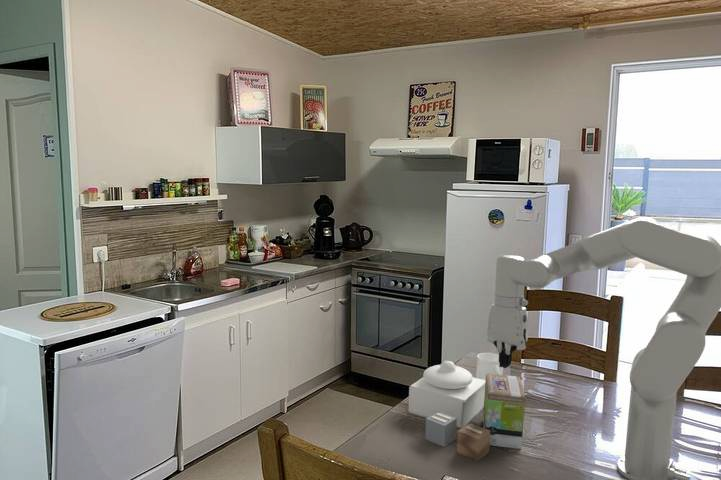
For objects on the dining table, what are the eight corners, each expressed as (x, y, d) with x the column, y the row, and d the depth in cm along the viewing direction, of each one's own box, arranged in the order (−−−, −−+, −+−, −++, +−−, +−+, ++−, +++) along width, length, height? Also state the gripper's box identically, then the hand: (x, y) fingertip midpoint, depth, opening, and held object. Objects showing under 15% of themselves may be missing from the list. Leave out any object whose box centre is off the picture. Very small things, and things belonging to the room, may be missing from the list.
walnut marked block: (489, 452, 137) (490, 429, 137) (477, 461, 133) (478, 437, 132) (468, 444, 141) (469, 422, 141) (457, 452, 137) (458, 430, 136)
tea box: (523, 450, 139) (526, 396, 137) (483, 445, 141) (486, 392, 139) (517, 423, 153) (520, 375, 151) (482, 420, 155) (484, 372, 153)
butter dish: (434, 393, 174) (435, 346, 172) (486, 407, 164) (488, 358, 162) (408, 412, 159) (409, 362, 157) (463, 429, 149) (466, 376, 147)
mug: (486, 397, 171) (488, 365, 169) (471, 383, 182) (473, 353, 181) (511, 395, 172) (512, 364, 171) (494, 381, 184) (496, 352, 183)
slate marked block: (456, 438, 144) (456, 417, 143) (444, 447, 140) (444, 424, 139) (437, 431, 148) (438, 410, 147) (425, 439, 144) (426, 417, 143)
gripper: (541, 303, 140) (536, 369, 142) (490, 294, 150) (486, 356, 152) (529, 308, 134) (524, 377, 137) (477, 298, 144) (473, 362, 147)
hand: (504, 366), depth 144 cm, fingers closed
